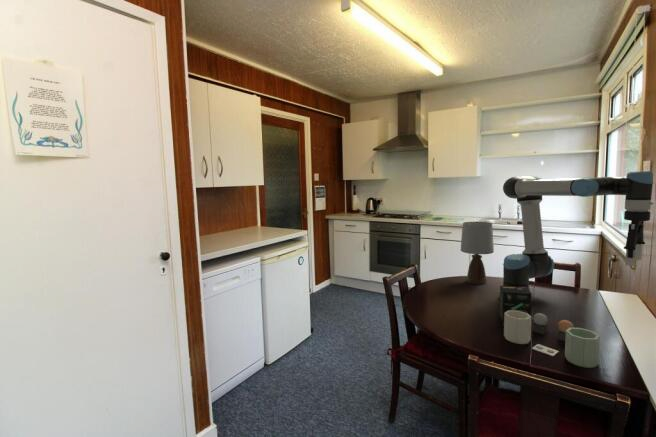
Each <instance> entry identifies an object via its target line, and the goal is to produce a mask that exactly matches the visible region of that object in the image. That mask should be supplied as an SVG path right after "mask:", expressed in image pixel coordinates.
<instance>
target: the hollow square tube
mask: <svg viewBox="0 0 656 437" xmlns="http://www.w3.org/2000/svg"><path fill="white" fill-rule="evenodd" d="M565 338H566V333H563V332H562V331H560V330H559V331H558V332H557V340H560V341H562V342H565Z"/></svg>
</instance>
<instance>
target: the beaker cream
mask: <svg viewBox="0 0 656 437" xmlns="http://www.w3.org/2000/svg"><path fill="white" fill-rule="evenodd" d="M503 327H504V328H503V336H504V338H505V340H507V341H509V342H510V343H514V344H518V345H527V344H530V342H531V341H532V339H531V337H532V315H531V316H530V315H529V314H528V313H525V312H521V311H513V310H508V311H507V312H505V313H504V324H503Z"/></svg>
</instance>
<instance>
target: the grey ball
mask: <svg viewBox="0 0 656 437" xmlns="http://www.w3.org/2000/svg"><path fill="white" fill-rule="evenodd" d="M532 321H533V322H534V323H536V324H537V325H539V326H544V325H548V324H547V323H548V317H547V316H546V314H544V313H540V312H537V313H535V314H534V315H533V318H532Z"/></svg>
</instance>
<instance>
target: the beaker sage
mask: <svg viewBox="0 0 656 437" xmlns="http://www.w3.org/2000/svg"><path fill="white" fill-rule="evenodd" d="M600 337H601V335H599V334H598V333H597V332H595V331H593V330H589V329H586V328H581V327H574V328H568V329H567V330H566V338H565V341H564V343H565V344H564V345H565V346H564V357H565V359H566V361H568V363H570V364H573V365H574V366H578V367H581V368H587V369H592V368H596V367H598V364H599V360H600V359H599V358H600V341H601V340H600Z"/></svg>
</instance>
